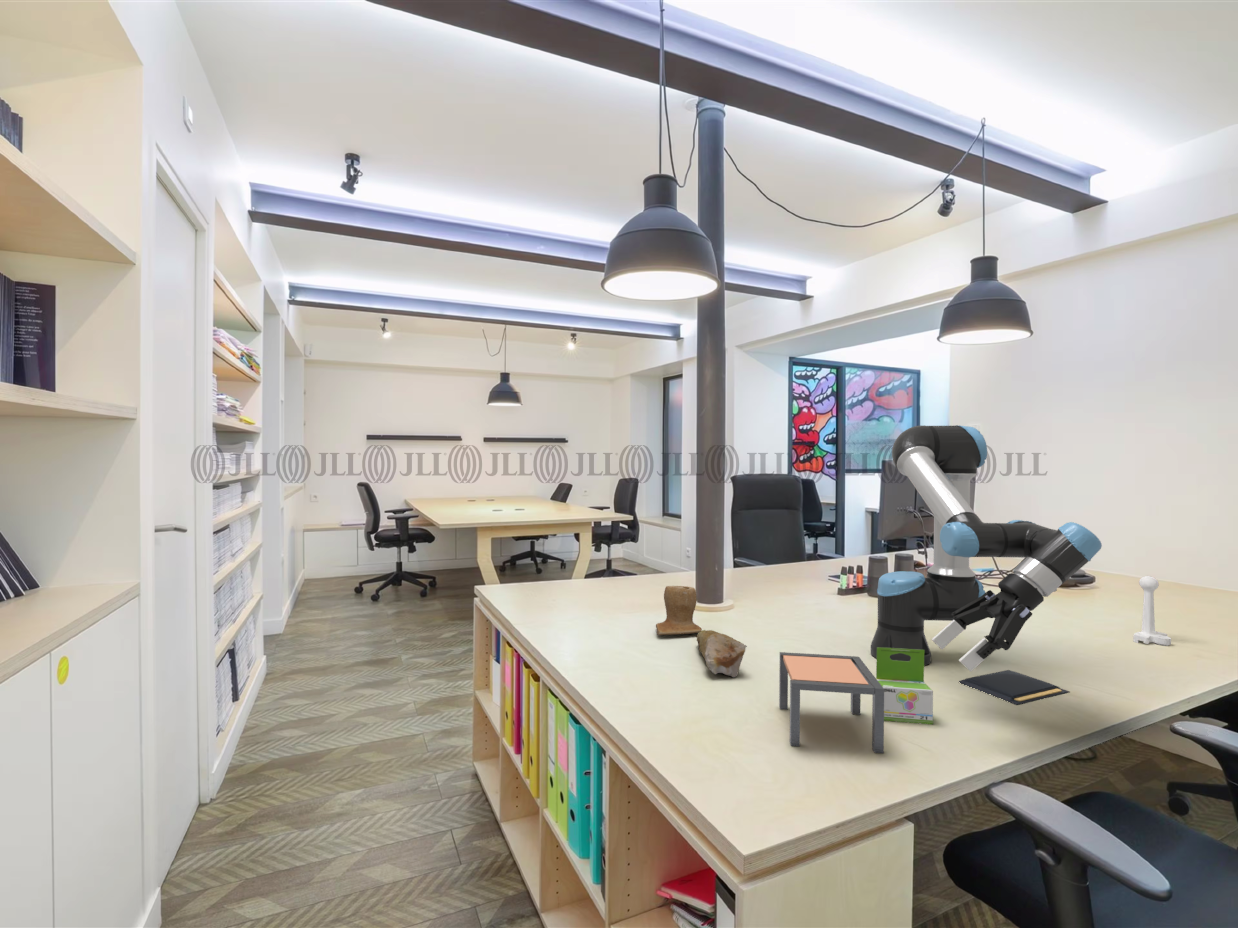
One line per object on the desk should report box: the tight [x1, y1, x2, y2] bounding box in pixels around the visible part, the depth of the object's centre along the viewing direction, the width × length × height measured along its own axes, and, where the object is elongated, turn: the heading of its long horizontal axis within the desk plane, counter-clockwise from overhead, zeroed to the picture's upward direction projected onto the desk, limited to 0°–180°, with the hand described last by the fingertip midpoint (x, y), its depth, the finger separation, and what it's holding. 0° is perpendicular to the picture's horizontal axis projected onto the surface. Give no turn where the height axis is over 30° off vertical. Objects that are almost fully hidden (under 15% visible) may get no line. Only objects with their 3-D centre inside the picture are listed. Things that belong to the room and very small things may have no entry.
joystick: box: [1132, 575, 1172, 647], centre depth 174 cm, size 11×8×20 cm
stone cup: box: [655, 585, 702, 636], centre depth 181 cm, size 15×12×15 cm
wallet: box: [958, 669, 1071, 706], centre depth 139 cm, size 20×2×15 cm
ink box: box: [875, 647, 934, 725], centre depth 122 cm, size 10×5×14 cm, turn 80°
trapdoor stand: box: [778, 651, 885, 754], centre depth 116 cm, size 17×18×12 cm
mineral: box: [696, 629, 748, 678], centre depth 155 cm, size 26×9×10 cm
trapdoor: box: [783, 655, 869, 685], centre depth 117 cm, size 14×14×1 cm
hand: (949, 654), depth 119 cm, fingers open, 13 cm apart
